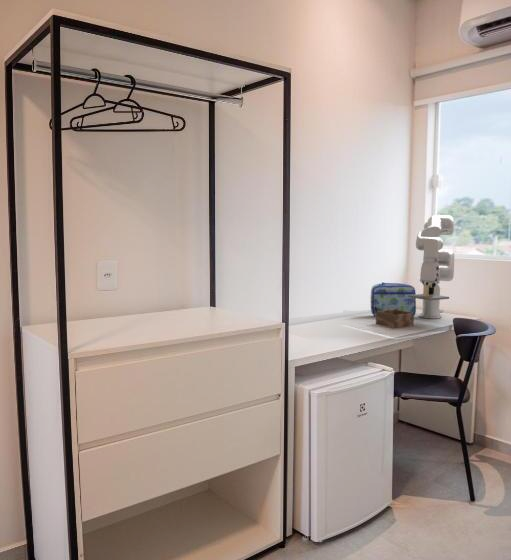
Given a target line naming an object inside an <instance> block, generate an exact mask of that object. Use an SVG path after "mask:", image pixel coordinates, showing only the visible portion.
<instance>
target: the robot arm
mask: <svg viewBox="0 0 511 560" xmlns="http://www.w3.org/2000/svg"><path fill="white" fill-rule="evenodd" d="M454 231H455V221H454V218H453V216H451V215H431V216H430V217H429V218H428V220H427V222H425V223H424V226H423V229H422V230H420V231H419V232H418V233H417V236H416V240H415V247H416V249H417V250H418V251H423V254H422V255H423V257H422V258H423V259H422V260H423V262H422V263H421V267H420V273H419V274H420V278H419V282H420V283H422V285H423V289H422V290H423V291H424V285H430V287H429V295H433V294H434V295H440V296H441V287H440V282H451V281H452V280H453V279H454V275H455V253H454V251H453V250H451V249H445V248H443V247H444V241H443V239H442V238H441V237H440V236H451V235H453V234H454ZM434 287H435V290H434ZM440 301H441V300H431V301H430V300H424V299H422V313H419V317H421V318H422V319H423V318H425V319H441V318H442V313H444V309H440Z"/></svg>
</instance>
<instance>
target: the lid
mask: <svg viewBox="0 0 511 560" xmlns="http://www.w3.org/2000/svg"><path fill="white" fill-rule="evenodd" d="M423 287H424V291H423V293H421V294H419V293H418V294H416V295H409V297H412V298H416V299H419V300H423V299H424V300H430V301H431V300H440V301H441V300H448V299H450V297H449V296H446V295H441V294H440V295H434V294H433V295H429V287H430V285H424V286H423ZM434 290H435V287H434Z"/></svg>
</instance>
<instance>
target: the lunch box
mask: <svg viewBox="0 0 511 560" xmlns="http://www.w3.org/2000/svg"><path fill="white" fill-rule="evenodd" d="M370 289H371V290H370V312H371V314H372V315H373V317H375V318H376V312H377V311H384V310H392V309H396V310H401V311H406V312H411V313H414V316H416V312H417V310H416V309H417V305H416V303H417V302H416V299H417V298H412V297H409V295H417V294H416V289H415V287H414V286H413V285H410V284H407V283H398V282H396V283H394V282H391V283H390V282H381V283H377V284H374V285H372V286H371V288H370Z"/></svg>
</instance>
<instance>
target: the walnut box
mask: <svg viewBox="0 0 511 560" xmlns="http://www.w3.org/2000/svg"><path fill="white" fill-rule="evenodd" d="M375 318H376V319H375V324H376V325H379V326H383V327H387V328H392V329H402V328H408V327H414V325H415V323H414V320H415V315H414V313H411V312H406V311H401V310H396V309H392V310H384V311H377V312H376V317H375Z"/></svg>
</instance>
